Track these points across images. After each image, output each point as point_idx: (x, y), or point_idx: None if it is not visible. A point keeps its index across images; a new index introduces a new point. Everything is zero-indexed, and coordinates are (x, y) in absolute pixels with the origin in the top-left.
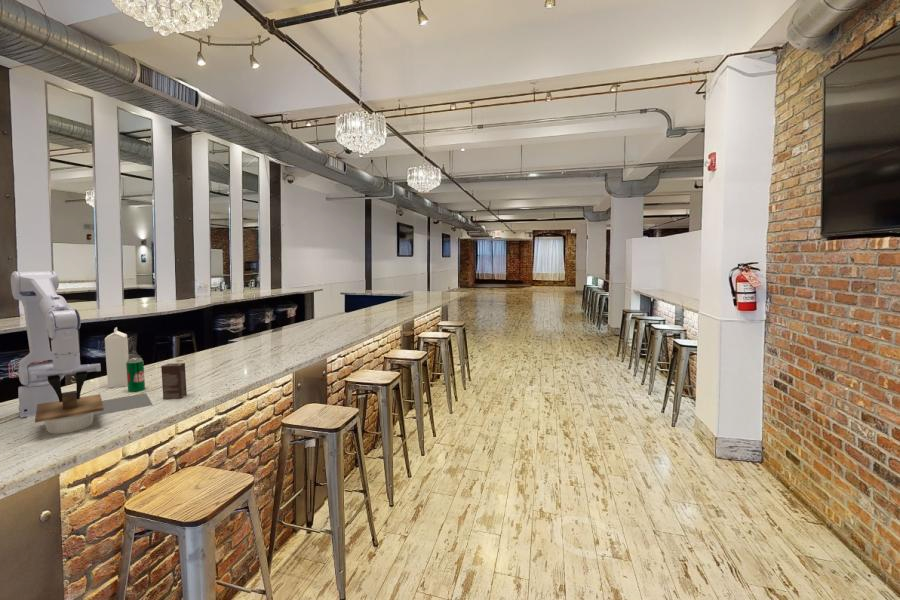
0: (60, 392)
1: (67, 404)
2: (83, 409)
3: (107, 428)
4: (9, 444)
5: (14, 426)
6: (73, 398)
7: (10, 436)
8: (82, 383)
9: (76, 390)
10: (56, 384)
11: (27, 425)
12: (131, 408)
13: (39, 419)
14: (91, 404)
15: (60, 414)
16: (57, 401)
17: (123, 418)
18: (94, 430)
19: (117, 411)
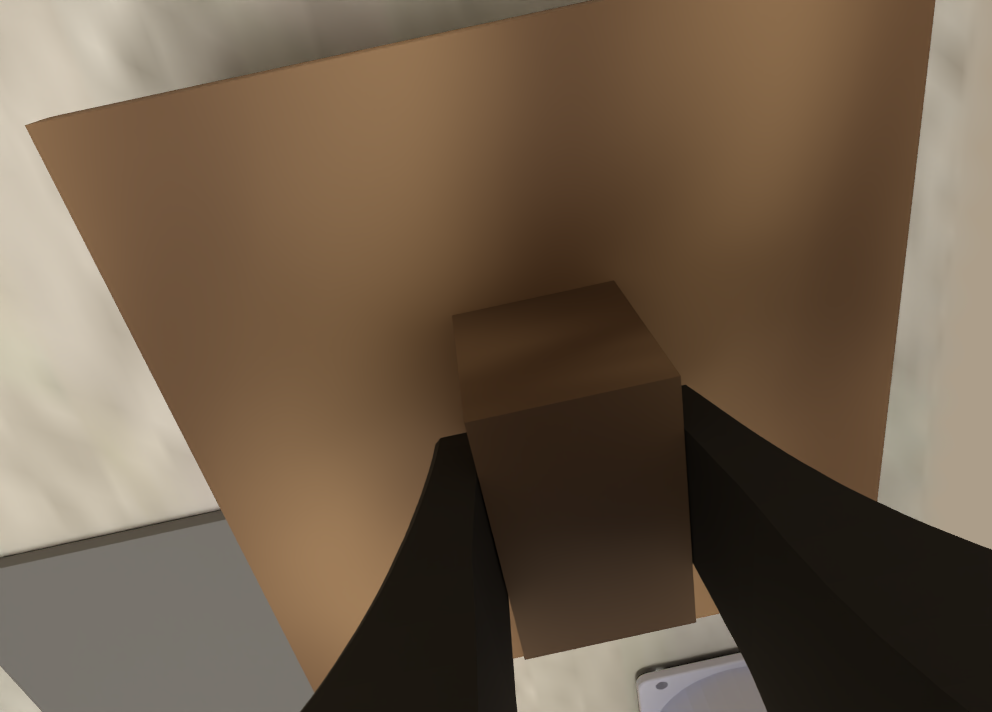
0: (741, 475)
1: (576, 322)
2: (336, 165)
3: (126, 55)
4: (963, 24)
5: (890, 493)
6: (506, 382)
7: (932, 271)
8: (346, 662)
9: (500, 601)
10: (940, 600)
11: None
12: (107, 557)
13: None
14: (292, 368)
15: (623, 44)
16: (699, 603)
17: (86, 341)
18: (259, 55)
19: (211, 523)
